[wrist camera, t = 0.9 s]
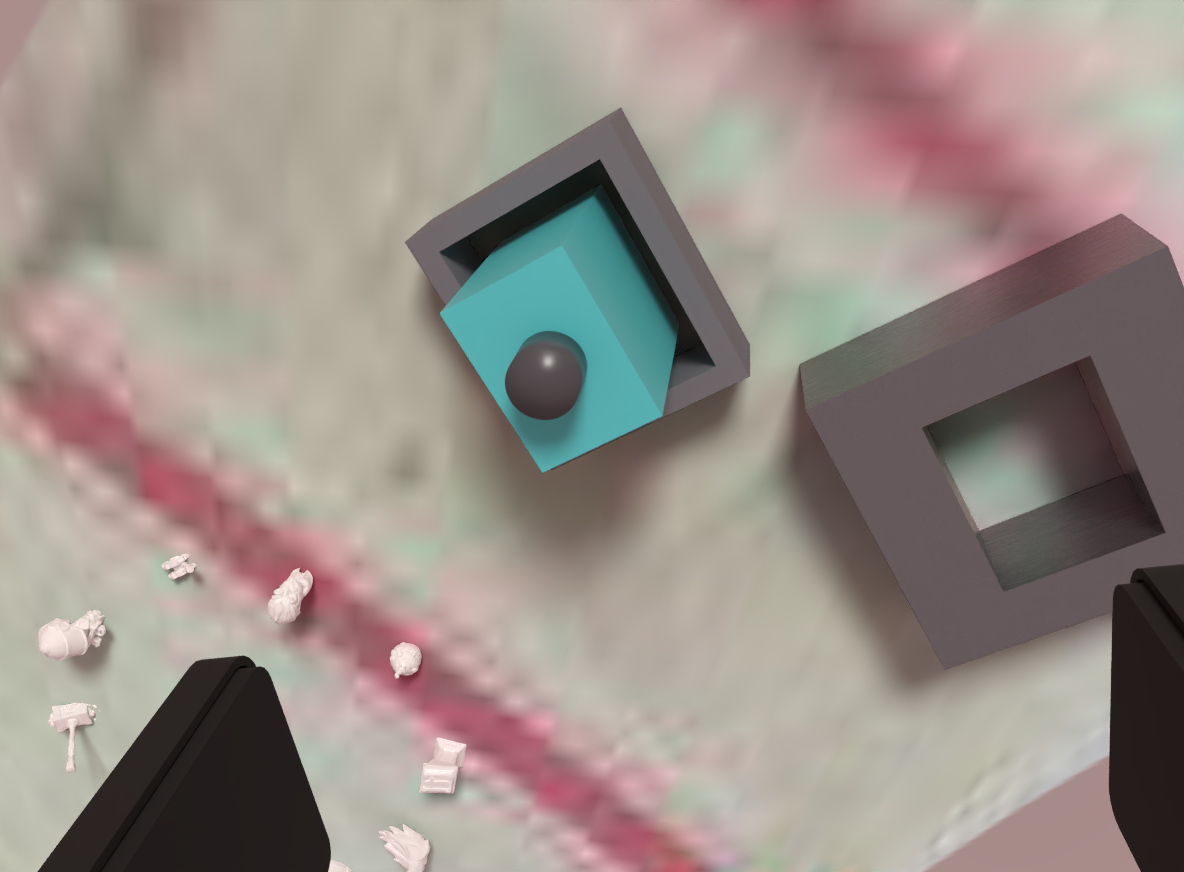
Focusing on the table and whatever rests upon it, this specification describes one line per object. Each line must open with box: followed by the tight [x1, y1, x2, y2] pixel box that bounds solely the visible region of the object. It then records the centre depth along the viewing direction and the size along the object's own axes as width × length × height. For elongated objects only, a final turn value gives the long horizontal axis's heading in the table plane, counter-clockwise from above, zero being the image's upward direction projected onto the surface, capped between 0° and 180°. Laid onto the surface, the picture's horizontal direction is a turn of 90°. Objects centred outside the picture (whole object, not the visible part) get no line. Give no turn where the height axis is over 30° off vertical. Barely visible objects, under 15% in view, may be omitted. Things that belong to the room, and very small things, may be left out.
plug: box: [439, 184, 680, 473], centre depth 31 cm, size 4×6×10 cm
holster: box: [405, 108, 750, 470], centre depth 34 cm, size 8×9×3 cm
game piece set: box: [39, 554, 466, 872], centre depth 45 cm, size 19×20×4 cm
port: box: [800, 214, 1184, 669], centre depth 34 cm, size 11×11×4 cm
